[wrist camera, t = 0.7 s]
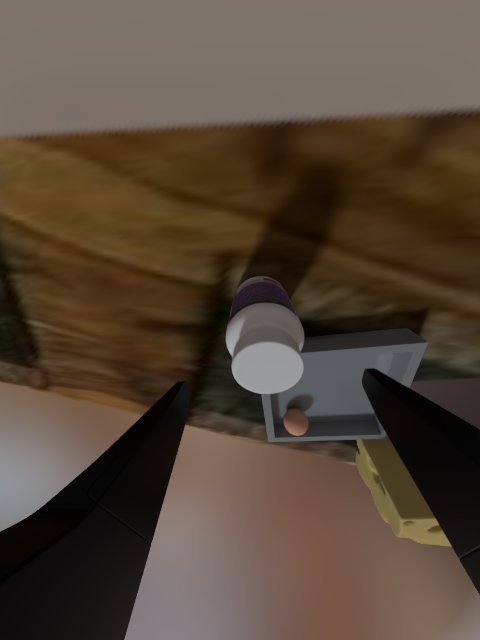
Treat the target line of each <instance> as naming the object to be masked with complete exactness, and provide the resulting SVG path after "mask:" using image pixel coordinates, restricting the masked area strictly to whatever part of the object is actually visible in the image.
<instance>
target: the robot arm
mask: <svg viewBox="0 0 480 640" xmlns="http://www.w3.org/2000/svg"><path fill="white" fill-rule="evenodd" d="M362 386H363V388H364V390H365V393H366V395H367V397H368V399H369V401H370V404H371V406H372V408H373V410H374V412H375V414H376V417H377V418H378V420H379V422H380V424H381V426H382V427H383V429H384V431H385V432H386V434H387V436H388V438H389V439H390V441H391V443H392V444H393V446H394V448H395V450H396V451H397V453H398V455H399V456H400V458H401V460H402V462H403V463H404V465H405V467H406V469H407V470H408V472H409V474H410V475H411V477H412V479H413V481H414V482H415V484H416V486H417V487H418V489H419V491H420V493H421V494H422V496H423V498H424V499H425V501H426V503H427V505H428V506H429V508H430V510H431V512H432V513H433V515H434V517H435V518H436V520H437V522H438V524H439V525H440V527H441V529H442V530H443V532H444V534H445V536H446V537H447V539H448V541H449V542H450V544H451V546H452V548H453V549H454V551H455V553H456V554H457V556H458V558H460V562H461V563H462V565H463V567H464V569H465V570H466V572H467V574H468V575H469V577H470V579H471V580H472V582H473V584H474V586H475V588H476V589H477V591H478V593H479V594H480V430H479V429H478V428H476V427H475V426H473V425H471V424H470V423H468V422H466V421H464V420H463V419H461V418H459V417H458V416H456V415H454V414H452V413H451V412H449V411H447V410H445V409H444V408H442V407H440V406H439V405H437V404H435V403H434V402H432V401H430V400H428V399H427V398H425V397H423V396H422V395H420V394H418V393H416V392H415V391H413V390H411V389H409V388H408V387H406V386H404V385H403V384H401V383H399V382H398V381H396V380H394V379H392V378H391V377H389V376H387V375H386V374H384V373H382V372H380V371H379V370H377V369H375V368H368V369H365V370H364V372H363V377H362ZM189 401H190V390H189V388H188V385H187V383H186V382H185V381H181V382H177V383H176V384H175V385H174V386H173V387H172V388H171V389H170V390H169V391H168V392H167V393H166V394H165V395H164V396H163V397H162V398H161V399H159V400H158V401H157V402H156V403H155V404H154V405H153V406H152V407H151V408H150V409H149V410H148V411H147V412H146V413H145V414H144V415H143V416H142V417H141V418H140V419H139V420H138V421H137V422H136V423H135V424H134V425H133V426H132V427H130V428H129V429H128V430H127V431H126V432H125V433H124V434H123V435H122V436H121V437H120V438H119V439H118V440H117V441H116V442H115V443H114V444H113V445H112V446H111V447H110V448H109V449H108V450H107V451H105V452H104V453H103V454H102V455H101V456H100V457H99V458H98V459H97V460H96V461H95V462H94V463H92V464H91V465H90V466H89V467H88V468H87V469H86V470H84V471H83V472H82V473H81V474H80V475H79V476H77V477H76V478H75V479H74V480H73V481H72V482H71V483H69V484H68V485H67V486H66V487H65V488H64V489H63V490H61V491H60V492H59V493H58V494H57V495H55V496H54V497H53V498H52V499H51V500H50V501H48V502H47V503H46V504H45V505H44V506H42V507H41V508H40V509H39V510H37V511H36V512H35V513H33V514H32V515H30V516H29V517H27V518H25V519H24V520H22V521H20V522H19V523H17V524H15V525H13V526H11V527H9V528H7V529H5V530H3V531H1V532H0V640H124V638H125V635H126V631H127V628H128V624H129V621H130V617H131V614H132V610H133V606H134V603H135V599H136V596H137V593H138V589H139V585H140V582H141V579H142V575H143V571H144V568H145V565H146V561H147V557H148V554H149V551H150V547H151V542H152V540H153V536H154V532H155V529H156V526H157V522H158V518H159V515H160V511H161V508H162V504H163V501H164V497H165V494H166V490H167V486H168V483H169V480H170V476H171V473H172V469H173V465H174V462H175V459H176V455H177V452H178V448H179V445H180V441H181V437H182V434H183V431H184V427H185V423H186V417H187V412H188V406H189Z"/></svg>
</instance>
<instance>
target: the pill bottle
mask: <svg viewBox="0 0 480 640" xmlns="http://www.w3.org/2000/svg"><path fill="white" fill-rule="evenodd" d="M226 344H227V348H228V350H229V352H230V354H231V355H232V357H233V359H232V373H233V376H234V378H235V379H236V381H237V382H238V383H239V384H240V385H241V386H242V387H244V388H245V389H247V390H250V391H252V392H255V393H260V394H274V393H279V392H282V391H285V390H287V389H289V388H291V387H292V386H294V385H295V384H296V383H297V382H298V381H299V380H300V378H301V376H302V374H303V370H304V363H303V359H302V355H301V350H302V347H303V344H304V330H303V327H302V325H301V322H300V320H299V318H298V316H297V314H296V312H295V310H294V308H293V306H292V304H291V302H290V299H289V297H288V295H287V293H286V291H285V290H284V288H283V287H282V285H281V284H280V283H279V282H278V281H276V280H274V279H272V278H270V277H266V276H256V277H252V278H250V279H248V280H246V281H244V282H243V283H242V284H241V285H240V286H239V287H238V289H237V290H236V292H235V295H234V298H233V303H232V308H231V313H230V318H229V322H228V327H227V332H226Z"/></svg>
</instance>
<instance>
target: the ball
mask: <svg viewBox="0 0 480 640" xmlns="http://www.w3.org/2000/svg"><path fill="white" fill-rule="evenodd" d="M283 421H284V426H285V428H286V429H287V431H288V432H289V433H291V434H293V435H296V436H300V435H303V434H304V433H305V432H306V431H307V429H308V419H307V416H306V415H305V413H304V412H303V411H301V410H299V409H297V408H292V409H289V410H288V411H287V412H286V413H285V415H284V419H283Z"/></svg>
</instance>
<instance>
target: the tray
mask: <svg viewBox="0 0 480 640" xmlns="http://www.w3.org/2000/svg"><path fill="white" fill-rule="evenodd" d="M427 345H428V342H427V341H426V340H424V339H423V338H421V337H420V336H418V335H417V334H415V333H414V332H413V331H411V330H410V329H408V328H399V329H388V330H378V331H367V332H357V333H346V334H336V335H325V336H314V337H304V344H303V347H302V350H301V355H302V359H303V363H304V370H303V374H302V376H301V378H300V380H299V381H298V382H297V383H296V384H295V385H294V386H292V387H291V388H289V389H287V390H285V391H282V392H279V393H274V394H261V395H262V402H263V409H264V415H265V422H266V429H267V436H268V442H283V441H320V440H357V439H388V436H387V434H386V432H385V431H384V429H383V427H382V426H381V424H380V422H379V420H378V418H377V417H376V414H375V412H374V410H373V408H372V406H371V404H370V401H369V399H368V397H367V395H366V393H365V390H364V388H363V386H362V377H363V372H364V370H365V369H368V368H375V369H377V370H379V371H380V372H382V373H384V374H386V375H387V376H389V377H391V378H392V379H394V380H396V381H398V382H399V383H401V384H403V385H404V386H406V387H408V388H409V387H410V385H411V383H412V380H413V378H414V375H415V373H416V371H417V368H418V366H419V364H420V361H421V359H422V356H423V354H424V352H425V349H426V347H427ZM292 408H297V409H299V410H301V411H303V412H304V413H305V415H306V416H307V419H308V429H307V431H306V432H305V433H304V434H303V435H300V436H296V435H293V434H291V433H289V432H288V431H287V429H286V428H285V426H284V421H283V419H284V415H285V413H286V412H287V411H288V410H289V409H292Z"/></svg>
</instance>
